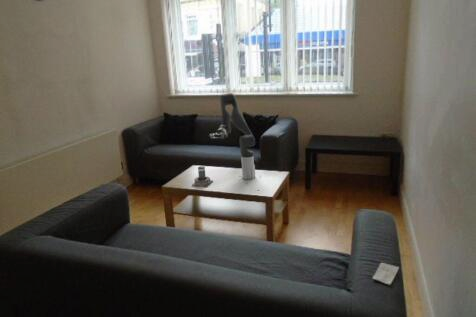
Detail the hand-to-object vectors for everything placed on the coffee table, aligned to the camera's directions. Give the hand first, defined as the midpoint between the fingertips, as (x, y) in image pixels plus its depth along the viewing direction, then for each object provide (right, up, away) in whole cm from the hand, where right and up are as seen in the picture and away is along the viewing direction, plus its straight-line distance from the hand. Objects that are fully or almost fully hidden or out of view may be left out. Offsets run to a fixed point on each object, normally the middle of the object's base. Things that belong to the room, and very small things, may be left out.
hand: (216, 137), depth 291 cm
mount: (-9, -35, -11) cm, 38 cm away
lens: (-9, -34, -12) cm, 37 cm away
